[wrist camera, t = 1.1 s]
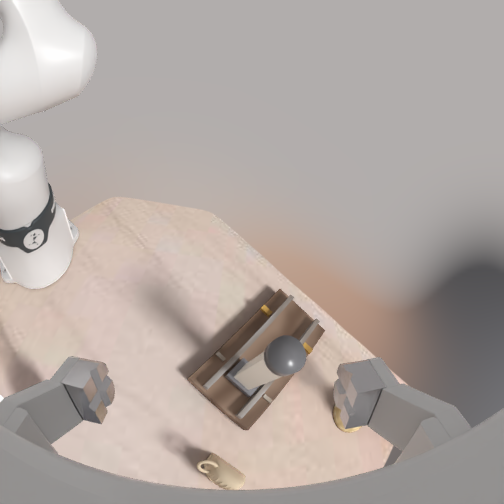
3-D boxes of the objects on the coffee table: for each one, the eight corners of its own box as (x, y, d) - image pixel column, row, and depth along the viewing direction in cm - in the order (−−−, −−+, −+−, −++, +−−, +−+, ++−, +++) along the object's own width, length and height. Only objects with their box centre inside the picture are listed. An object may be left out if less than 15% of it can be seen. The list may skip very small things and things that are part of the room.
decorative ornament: (229, 493, 28) (240, 501, 24) (187, 462, 30) (193, 468, 26) (246, 476, 31) (258, 482, 27) (205, 445, 32) (213, 448, 28)
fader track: (187, 379, 38) (190, 375, 35) (275, 293, 53) (283, 284, 50) (243, 430, 36) (251, 430, 33) (319, 334, 51) (329, 327, 48)
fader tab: (223, 377, 38) (260, 353, 27) (242, 358, 41) (283, 326, 29) (247, 398, 37) (293, 382, 26) (264, 378, 40) (313, 354, 29)
